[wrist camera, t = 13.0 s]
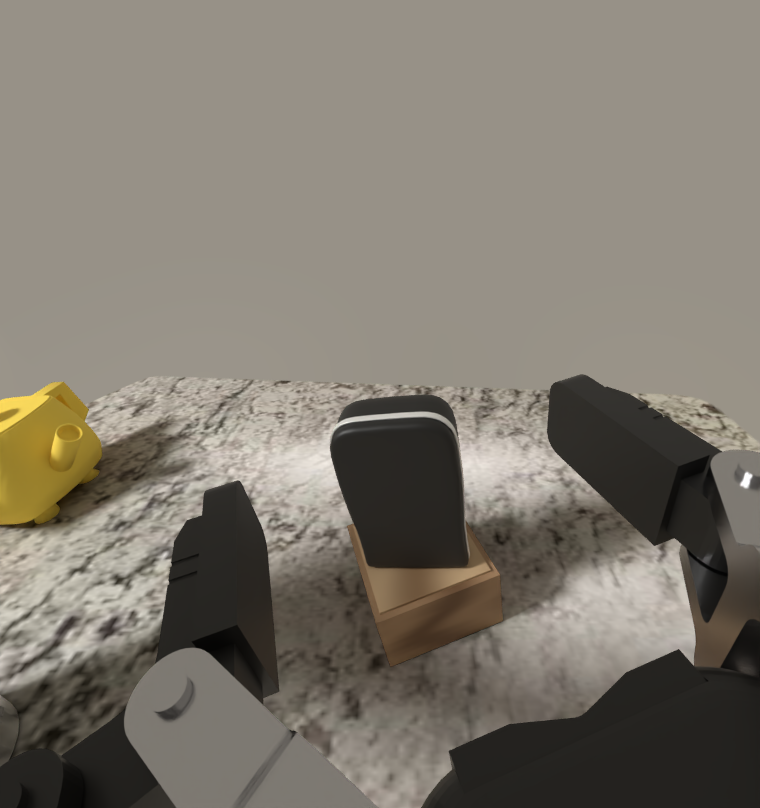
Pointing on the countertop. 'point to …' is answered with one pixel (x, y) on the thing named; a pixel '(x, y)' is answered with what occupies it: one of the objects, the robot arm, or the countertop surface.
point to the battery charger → (403, 480)
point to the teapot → (43, 453)
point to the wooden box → (430, 601)
